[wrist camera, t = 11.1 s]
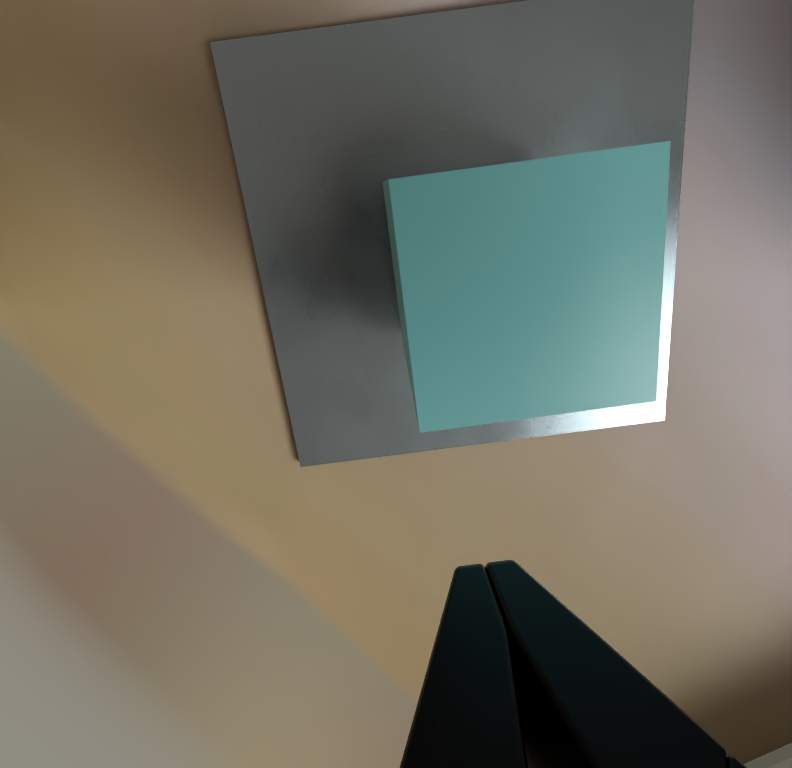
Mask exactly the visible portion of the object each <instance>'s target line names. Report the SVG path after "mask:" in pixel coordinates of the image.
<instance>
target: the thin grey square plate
mask: <svg viewBox="0 0 792 768" xmlns="http://www.w3.org/2000/svg"><path fill="white" fill-rule="evenodd" d="M693 2H694V0H526V1H518V2H510V3H503V4H495V5H488V6H480V7H473V8H465V9H457V10H450V11H442V12H435V13H427V14H419V15H412V16H404V17H397V18H389V19H381V20H374V21H366V22H359V23H351V24H343V25H336V26H328V27H321V28H313V29H306V30H298V31H290V32H283V33H275V34H268V35H260V36H252V37H245V38H237V39H230V40H222V41H214V42H210V45H211V50H212V55H213V59H214V64H215V69H216V73H217V78H218V83H219V87H220V92H221V97H222V101H223V106H224V111H225V115H226V120H227V125H228V130H229V134H230V139H231V144H232V148H233V153H234V158H235V162H236V167H237V172H238V176H239V181H240V186H241V190H242V195H243V200H244V204H245V209H246V214H247V218H248V223H249V228H250V233H251V237H252V242H253V247H254V251H255V256H256V261H257V265H258V270H259V275H260V279H261V284H262V289H263V293H264V298H265V303H266V307H267V312H268V317H269V322H270V326H271V331H272V336H273V340H274V345H275V350H276V354H277V359H278V364H279V368H280V373H281V378H282V382H283V387H284V392H285V396H286V401H287V406H288V410H289V415H290V420H291V425H292V429H293V434H294V439H295V443H296V448H297V453H298V457H299V462H300V467H304V466H312V465H319V464H327V463H335V462H343V461H351V460H359V459H366V458H374V457H382V456H390V455H398V454H405V453H413V452H421V451H429V450H437V449H445V448H452V447H460V446H468V445H476V444H484V443H491V442H499V441H507V440H515V439H523V438H531V437H538V436H546V435H554V434H562V433H570V432H577V431H585V430H593V429H601V428H609V427H616V426H624V425H632V424H640V423H648V422H656V421H663V420H665V407H666V392H667V378H668V364H669V349H670V335H671V320H672V306H673V291H674V277H675V262H676V248H677V233H678V219H679V204H680V190H681V175H682V161H683V147H684V132H685V118H686V103H687V89H688V74H689V60H690V45H691V31H692V16H693ZM665 141H671V146H670V164H669V182H668V200H667V218H666V236H665V254H664V272H663V290H662V308H661V326H660V344H659V362H658V380H657V397H656V401H655V402H647V403H640V404H632V405H625V406H617V407H610V408H603V409H595V410H588V411H580V412H573V413H565V414H558V415H550V416H543V417H535V418H528V419H520V420H513V421H505V422H498V423H490V424H483V425H475V426H468V427H460V428H453V429H445V430H438V431H430V432H423V433H420V432H419V426H418V421H417V416H416V411H415V405H414V400H413V395H412V390H411V384H410V379H409V374H408V368H407V363H406V358H405V353H404V347H403V340H402V332H401V324H400V317H399V309H398V301H397V293H396V285H395V277H394V270H393V262H392V254H391V246H390V238H389V230H388V223H387V215H386V207H385V199H384V191H383V182H384V181H386V180H388V179H395V178H402V177H409V176H417V175H424V174H431V173H439V172H446V171H453V170H461V169H468V168H475V167H482V166H490V165H497V164H504V163H512V162H519V161H526V160H534V159H541V158H548V157H556V156H563V155H570V154H578V153H585V152H592V151H600V150H607V149H614V148H621V147H629V146H636V145H643V144H651V143H658V142H665Z"/></svg>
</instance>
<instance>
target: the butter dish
mask: <svg viewBox="0 0 792 768" xmlns="http://www.w3.org/2000/svg"><path fill="white" fill-rule="evenodd" d="M744 765H745V766H746V767H747V768H792V743H789V744H787V745H785V746H783V747H781V748H778V749H776V750H774V751H772V752H769V753H767V754H765V755H763V756H760V757H758V758H756V759H754V760H752V761H749V762H747V763H745V764H744Z"/></svg>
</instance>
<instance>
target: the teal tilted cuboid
mask: <svg viewBox="0 0 792 768" xmlns="http://www.w3.org/2000/svg"><path fill="white" fill-rule="evenodd" d="M670 146H671V141H665V142H658V143H651V144H643V145H636V146H629V147H621V148H614V149H607V150H600V151H592V152H585V153H578V154H570V155H563V156H556V157H548V158H541V159H534V160H526V161H519V162H512V163H504V164H497V165H490V166H482V167H475V168H468V169H461V170H453V171H446V172H439V173H431V174H424V175H417V176H409V177H402V178H395V179H388V180H386V181H384V182H383V191H384V199H385V207H386V215H387V223H388V230H389V238H390V246H391V254H392V262H393V270H394V277H395V285H396V293H397V301H398V309H399V317H400V324H401V332H402V340H403V347H404V353H405V358H406V363H407V368H408V374H409V379H410V384H411V390H412V395H413V400H414V405H415V411H416V416H417V421H418V426H419V432H420V433H423V432H430V431H438V430H445V429H453V428H460V427H468V426H475V425H483V424H490V423H498V422H505V421H513V420H520V419H528V418H535V417H543V416H550V415H558V414H565V413H573V412H580V411H588V410H595V409H603V408H610V407H617V406H625V405H632V404H640V403H647V402H655V401H656V397H657V380H658V362H659V344H660V326H661V308H662V290H663V272H664V254H665V236H666V218H667V200H668V182H669V164H670Z"/></svg>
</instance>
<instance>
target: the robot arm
mask: <svg viewBox="0 0 792 768" xmlns="http://www.w3.org/2000/svg"><path fill="white" fill-rule="evenodd" d="M400 768H747V767H746V766H745V765H744V764H743V763H742V762H740V761H739V760H738V759H737V758H736V757H735V756H729V757H728V753H727V750H726V749H725V748H724V747H723V746H722V745H721V744H720V743H719V742H718V741H716V740H715V739H714V738H713V737H712V736H711V735H710V734H709V733H708V732H706V731H705V730H704V729H703V728H702V727H701V726H700V725H699V724H697V723H696V722H695V721H694V720H693V719H692V718H691V717H690V716H688V715H687V714H686V713H685V712H684V711H683V710H682V709H681V708H679V707H678V706H677V705H676V704H675V703H674V702H673V701H672V700H670V699H669V698H668V697H667V696H666V695H665V694H664V693H663V692H661V691H660V690H659V689H658V688H657V687H656V686H655V685H654V684H652V683H651V682H650V681H649V680H648V679H647V678H646V677H645V676H643V675H642V674H641V673H640V672H639V671H638V670H637V669H636V668H634V667H633V666H632V665H631V664H630V663H629V662H628V661H627V660H625V659H624V658H623V657H622V656H621V655H620V654H619V653H618V652H616V651H615V650H614V649H613V648H612V647H611V646H610V645H609V644H607V643H606V642H605V641H604V640H603V639H602V638H601V637H600V636H598V635H597V634H596V633H595V632H594V631H593V630H592V629H591V628H589V627H588V626H587V625H586V624H585V623H584V622H583V621H582V620H580V619H579V618H578V617H577V616H576V615H575V614H574V613H573V612H572V611H570V610H569V609H568V608H567V607H566V606H565V605H564V604H563V603H561V602H560V601H559V600H558V599H557V598H556V597H555V596H554V595H552V594H551V593H550V592H549V591H548V590H547V589H546V588H545V587H543V586H542V585H541V584H540V583H539V582H538V581H537V580H536V579H534V578H533V577H532V576H531V575H530V574H529V573H528V572H527V571H525V570H524V569H523V568H522V567H521V566H520V565H519V564H518V563H516V562H515V561H513V560H505V561H497V562H490V563H488V564H486V566H485V567H484V566H483V565H482V564H474V565H466V566H459V567H457V568H456V569H455V571H454V574H453V578H452V582H451V585H450V589H449V592H448V596H447V600H446V603H445V607H444V610H443V614H442V617H441V621H440V625H439V628H438V632H437V635H436V639H435V643H434V646H433V650H432V653H431V657H430V661H429V664H428V668H427V671H426V675H425V679H424V682H423V686H422V689H421V693H420V697H419V700H418V704H417V707H416V711H415V715H414V719H413V722H412V725H411V729H410V733H409V736H408V740H407V744H406V747H405V750H404V754H403V758H402V761H401V765H400Z"/></svg>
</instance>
